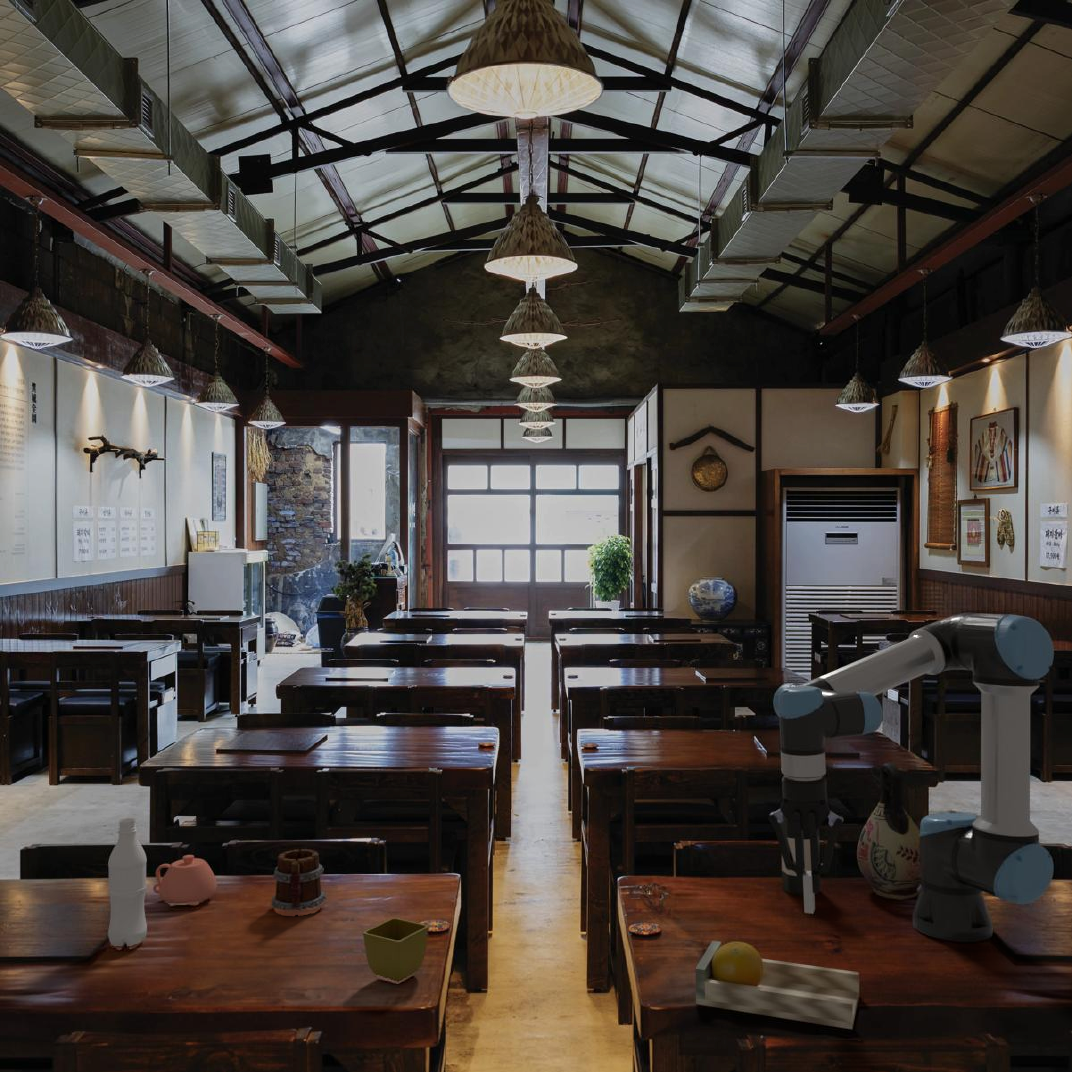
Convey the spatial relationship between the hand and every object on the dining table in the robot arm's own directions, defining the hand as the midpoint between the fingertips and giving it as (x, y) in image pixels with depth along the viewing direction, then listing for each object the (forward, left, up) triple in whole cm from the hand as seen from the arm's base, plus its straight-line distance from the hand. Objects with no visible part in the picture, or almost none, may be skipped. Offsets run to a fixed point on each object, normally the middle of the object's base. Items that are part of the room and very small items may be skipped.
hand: (809, 910), depth 176 cm
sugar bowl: (+137, +2, -15) cm, 138 cm away
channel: (+4, +5, -14) cm, 16 cm away
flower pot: (+71, +21, -15) cm, 76 cm away
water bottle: (+129, +27, -15) cm, 133 cm away
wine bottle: (+9, -55, -15) cm, 58 cm away
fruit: (+12, +6, -14) cm, 19 cm away
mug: (+109, -2, -15) cm, 110 cm away
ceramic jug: (-11, -59, -15) cm, 62 cm away
